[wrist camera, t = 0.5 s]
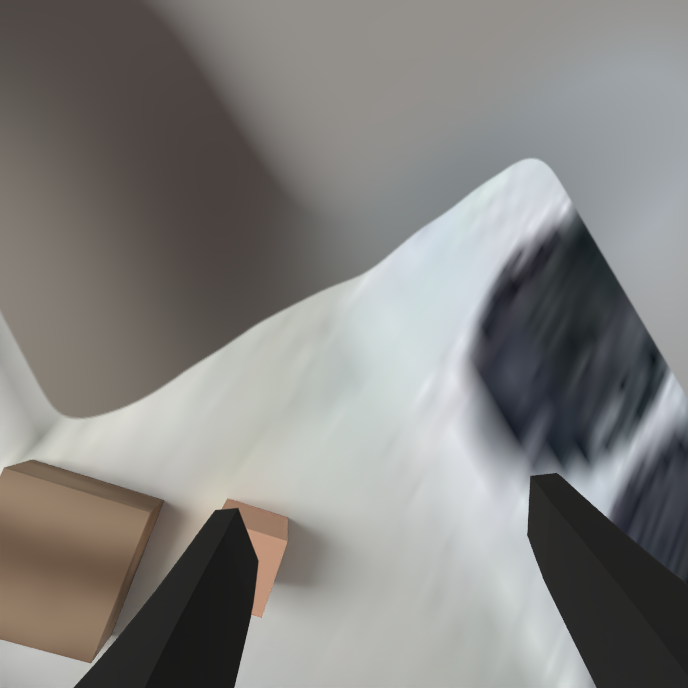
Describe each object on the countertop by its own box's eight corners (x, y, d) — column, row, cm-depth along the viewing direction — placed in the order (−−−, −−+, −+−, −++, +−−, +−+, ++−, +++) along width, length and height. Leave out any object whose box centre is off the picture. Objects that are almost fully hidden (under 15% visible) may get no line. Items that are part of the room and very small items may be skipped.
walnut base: (110, 635, 29) (90, 663, 27) (-29, 597, 29) (-66, 621, 26) (163, 500, 31) (150, 512, 28) (32, 459, 30) (4, 467, 27)
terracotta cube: (265, 581, 31) (261, 617, 26) (203, 562, 31) (187, 596, 26) (288, 517, 32) (287, 541, 27) (227, 498, 32) (216, 519, 27)
